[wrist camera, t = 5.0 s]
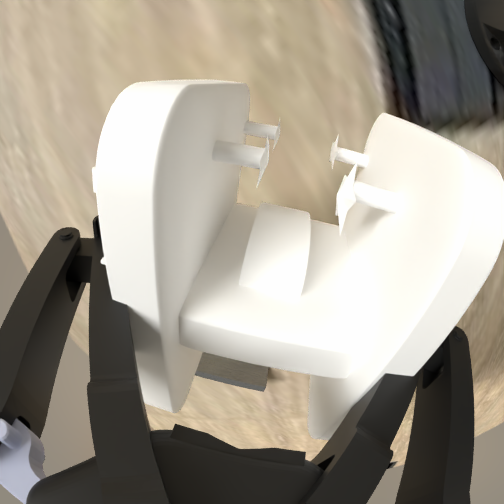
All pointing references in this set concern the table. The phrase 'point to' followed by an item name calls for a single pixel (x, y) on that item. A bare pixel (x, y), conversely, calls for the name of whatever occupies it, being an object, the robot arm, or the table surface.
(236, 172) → the cable organizer
